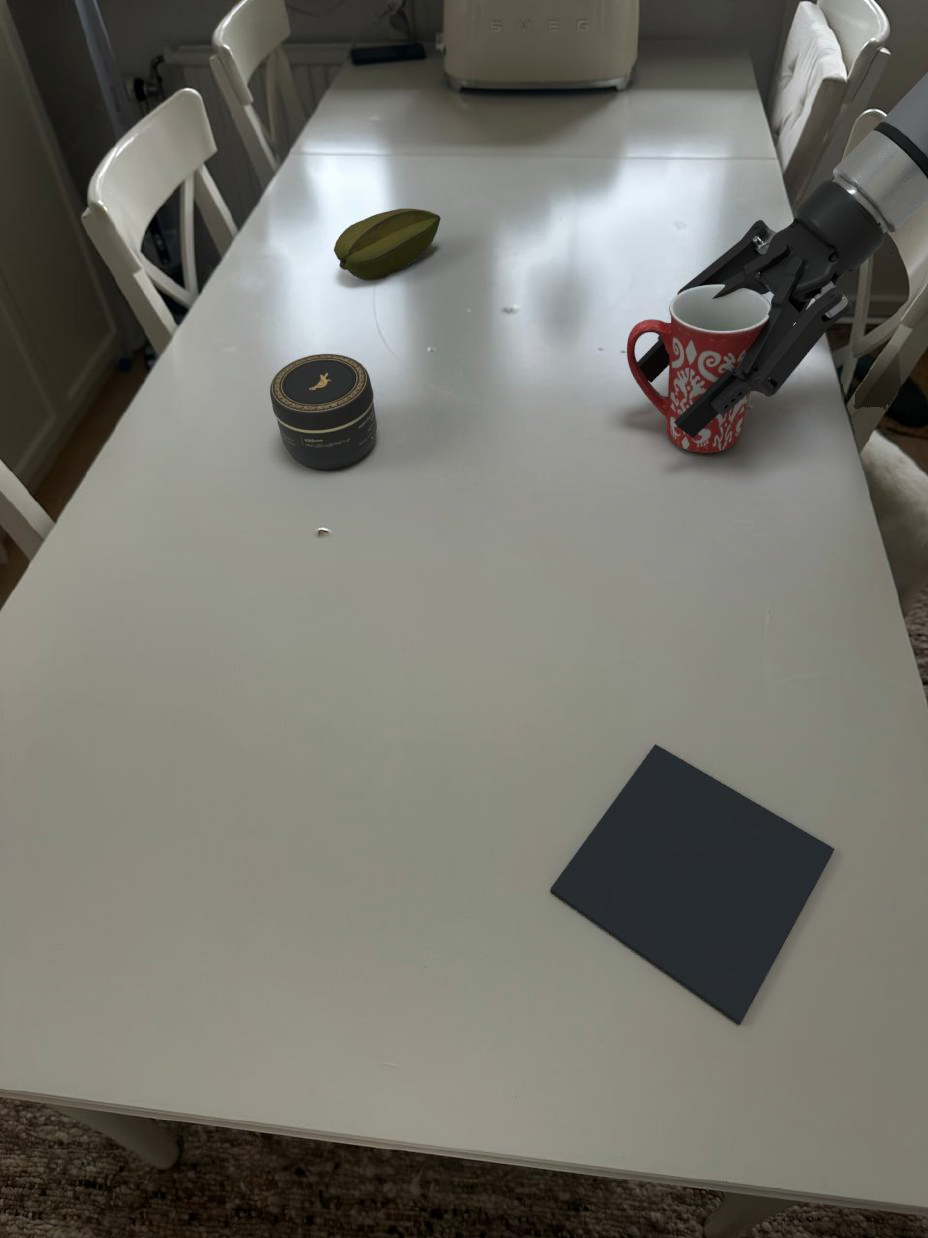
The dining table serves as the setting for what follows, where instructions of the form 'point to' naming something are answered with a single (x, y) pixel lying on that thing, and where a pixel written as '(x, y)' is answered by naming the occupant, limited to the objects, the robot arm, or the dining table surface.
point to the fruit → (386, 242)
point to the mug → (702, 357)
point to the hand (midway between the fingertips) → (662, 401)
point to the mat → (695, 879)
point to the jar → (325, 410)
